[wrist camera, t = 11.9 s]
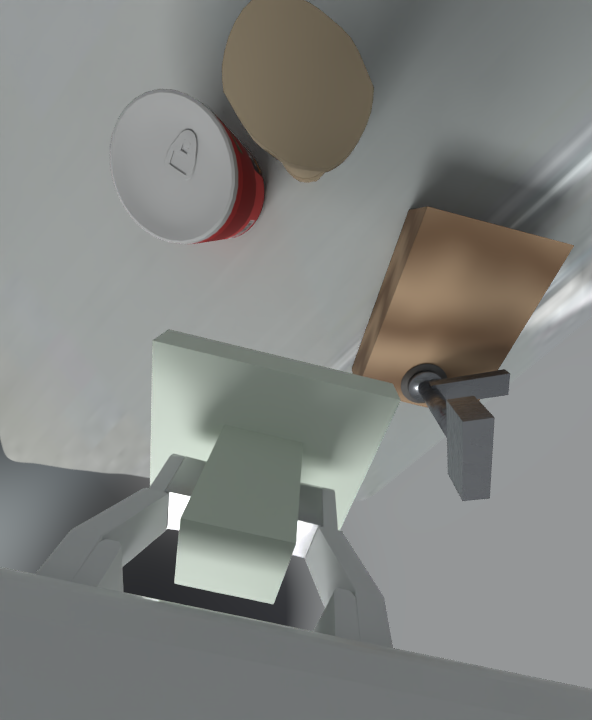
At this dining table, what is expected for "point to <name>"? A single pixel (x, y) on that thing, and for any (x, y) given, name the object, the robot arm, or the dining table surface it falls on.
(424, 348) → the case
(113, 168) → the canned food
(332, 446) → the lid
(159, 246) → the dining table surface
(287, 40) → the handle
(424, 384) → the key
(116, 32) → the dining table surface
